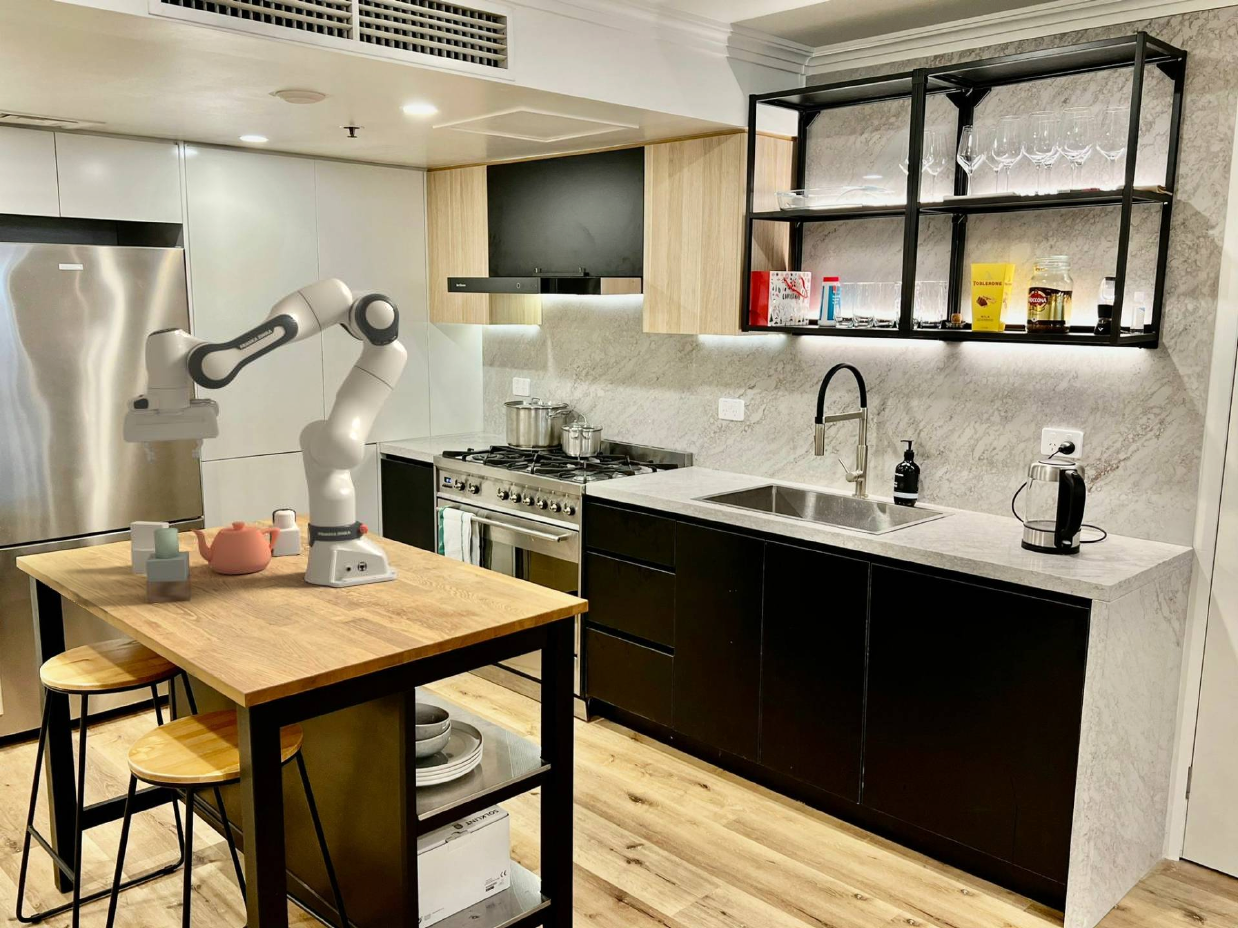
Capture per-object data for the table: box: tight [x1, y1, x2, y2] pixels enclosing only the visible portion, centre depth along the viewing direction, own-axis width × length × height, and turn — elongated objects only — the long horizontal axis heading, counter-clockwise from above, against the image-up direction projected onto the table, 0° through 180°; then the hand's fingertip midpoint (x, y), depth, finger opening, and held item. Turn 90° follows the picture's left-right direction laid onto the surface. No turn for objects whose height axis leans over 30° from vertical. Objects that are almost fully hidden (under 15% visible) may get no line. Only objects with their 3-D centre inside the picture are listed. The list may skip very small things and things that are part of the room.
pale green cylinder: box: [154, 527, 180, 559], centre depth 235 cm, size 5×5×6 cm
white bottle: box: [268, 508, 302, 557], centre depth 279 cm, size 7×7×12 cm
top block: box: [146, 550, 191, 583], centre depth 236 cm, size 8×8×5 cm
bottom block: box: [145, 571, 192, 605], centre depth 237 cm, size 9×9×5 cm
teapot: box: [189, 521, 280, 575], centre depth 261 cm, size 22×15×12 cm
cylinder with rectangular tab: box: [129, 520, 170, 575], centre depth 260 cm, size 9×9×12 cm
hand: (173, 459), depth 237 cm, fingers open, 8 cm apart
